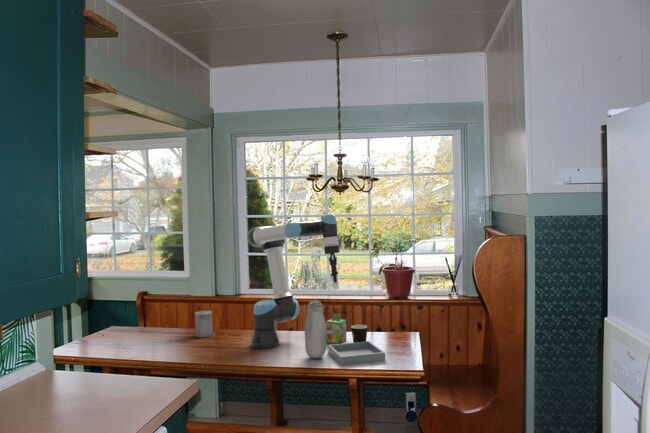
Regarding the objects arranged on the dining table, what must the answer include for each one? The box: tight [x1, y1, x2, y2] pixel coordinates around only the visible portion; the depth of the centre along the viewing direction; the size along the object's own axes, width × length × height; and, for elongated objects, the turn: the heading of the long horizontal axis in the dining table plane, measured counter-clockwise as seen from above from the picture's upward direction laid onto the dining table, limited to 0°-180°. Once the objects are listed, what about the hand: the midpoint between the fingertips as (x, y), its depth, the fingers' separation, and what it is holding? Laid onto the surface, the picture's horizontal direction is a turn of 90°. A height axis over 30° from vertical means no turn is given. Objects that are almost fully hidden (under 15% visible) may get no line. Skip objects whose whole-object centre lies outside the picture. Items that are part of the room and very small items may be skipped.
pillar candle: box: [194, 309, 214, 338], centre depth 308 cm, size 10×10×15 cm
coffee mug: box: [350, 324, 368, 343], centre depth 281 cm, size 12×9×10 cm
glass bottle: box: [304, 299, 327, 359], centre depth 259 cm, size 10×10×28 cm
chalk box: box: [325, 313, 347, 344], centre depth 289 cm, size 9×9×15 cm
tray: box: [327, 340, 386, 366], centre depth 259 cm, size 22×22×4 cm
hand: (335, 288), depth 263 cm, fingers open, 13 cm apart
